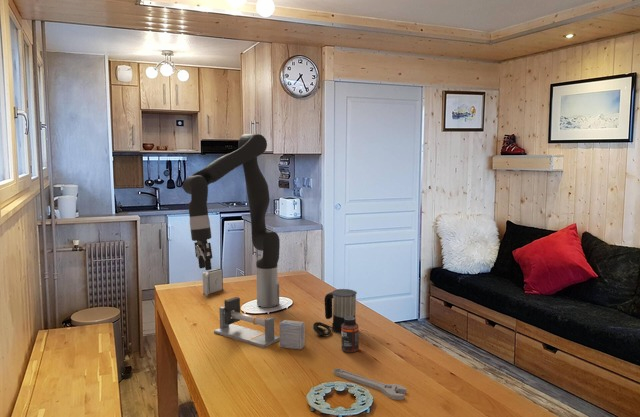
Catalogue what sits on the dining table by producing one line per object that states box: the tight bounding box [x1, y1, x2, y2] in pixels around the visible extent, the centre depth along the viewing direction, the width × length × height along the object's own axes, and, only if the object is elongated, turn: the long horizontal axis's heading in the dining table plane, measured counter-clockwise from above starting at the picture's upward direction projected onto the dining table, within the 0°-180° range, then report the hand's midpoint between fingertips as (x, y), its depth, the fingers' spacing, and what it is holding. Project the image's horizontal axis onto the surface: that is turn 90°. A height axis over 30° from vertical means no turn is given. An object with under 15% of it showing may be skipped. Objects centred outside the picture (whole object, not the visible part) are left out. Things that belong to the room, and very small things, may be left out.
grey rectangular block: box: [202, 268, 224, 297], centre depth 246 cm, size 14×5×10 cm, turn 154°
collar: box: [224, 296, 241, 325], centre depth 192 cm, size 2×6×9 cm, turn 144°
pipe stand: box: [213, 305, 280, 349], centre depth 188 cm, size 25×9×9 cm, turn 54°
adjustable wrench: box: [333, 368, 407, 401], centre depth 151 cm, size 25×6×2 cm, turn 46°
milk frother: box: [312, 288, 358, 337], centre depth 192 cm, size 14×16×15 cm
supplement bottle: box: [340, 316, 360, 353], centre depth 175 cm, size 6×6×11 cm
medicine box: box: [279, 319, 306, 351], centre depth 178 cm, size 8×4×9 cm, turn 71°
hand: (205, 269), depth 198 cm, fingers open, 8 cm apart
